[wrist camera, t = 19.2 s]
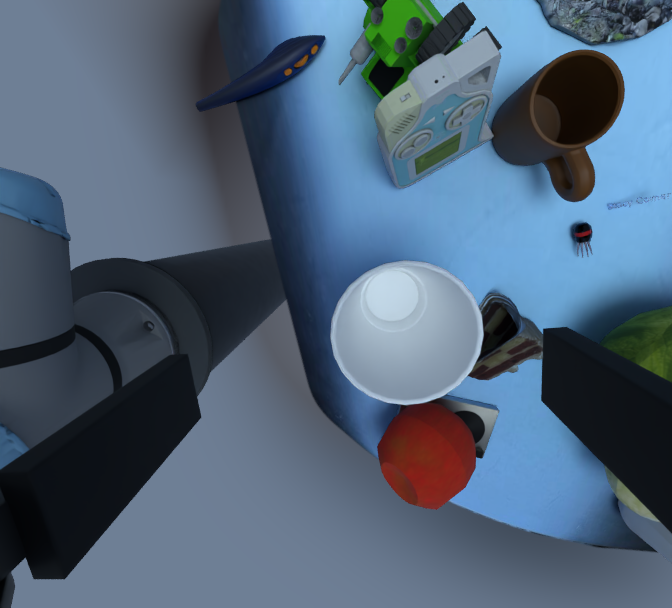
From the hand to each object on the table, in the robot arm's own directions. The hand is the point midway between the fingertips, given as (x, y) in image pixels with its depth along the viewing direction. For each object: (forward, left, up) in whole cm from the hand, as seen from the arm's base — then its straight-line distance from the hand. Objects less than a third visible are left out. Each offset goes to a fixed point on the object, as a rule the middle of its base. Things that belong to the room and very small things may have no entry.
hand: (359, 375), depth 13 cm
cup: (+4, -2, -30) cm, 31 cm away
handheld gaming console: (+2, +17, -15) cm, 22 cm away
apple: (+8, -20, -20) cm, 29 cm away
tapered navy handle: (-17, +20, -30) cm, 40 cm away
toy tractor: (+2, +25, -21) cm, 33 cm away
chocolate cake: (+17, -6, -30) cm, 35 cm away
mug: (+15, +16, -30) cm, 37 cm away
